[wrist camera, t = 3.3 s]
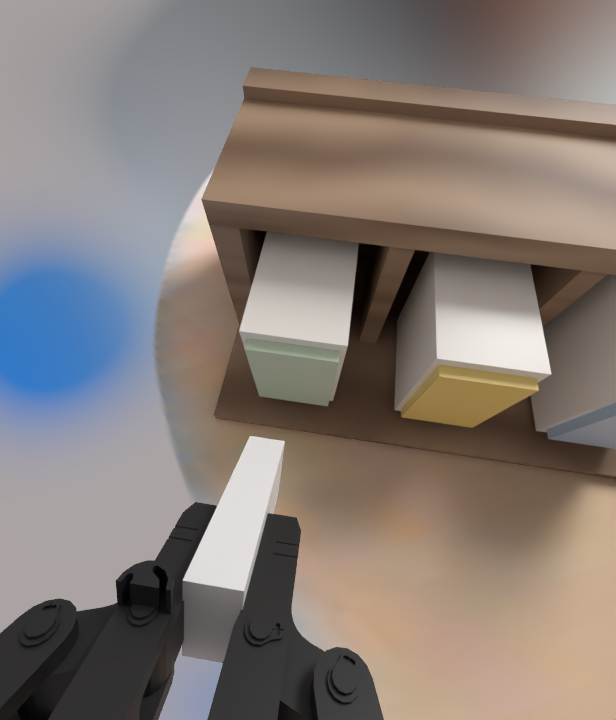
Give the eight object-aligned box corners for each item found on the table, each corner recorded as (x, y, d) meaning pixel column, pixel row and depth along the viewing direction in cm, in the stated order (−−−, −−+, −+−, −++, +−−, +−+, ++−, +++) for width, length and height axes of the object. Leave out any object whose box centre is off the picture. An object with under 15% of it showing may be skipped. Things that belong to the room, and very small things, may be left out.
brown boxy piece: (653, 484, 21) (1017, 443, 10) (216, 417, 22) (139, 320, 12) (589, 269, 29) (760, 119, 18) (268, 229, 30) (250, 67, 19)
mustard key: (472, 430, 21) (553, 386, 14) (394, 418, 21) (437, 370, 15) (465, 329, 24) (528, 255, 18) (397, 319, 25) (433, 243, 18)
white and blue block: (619, 452, 21) (774, 417, 14) (537, 440, 21) (649, 400, 14) (591, 346, 24) (705, 276, 17) (521, 336, 24) (605, 264, 18)
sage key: (332, 409, 21) (346, 357, 15) (255, 398, 22) (235, 342, 15) (343, 312, 25) (359, 234, 18) (277, 303, 25) (269, 223, 18)
